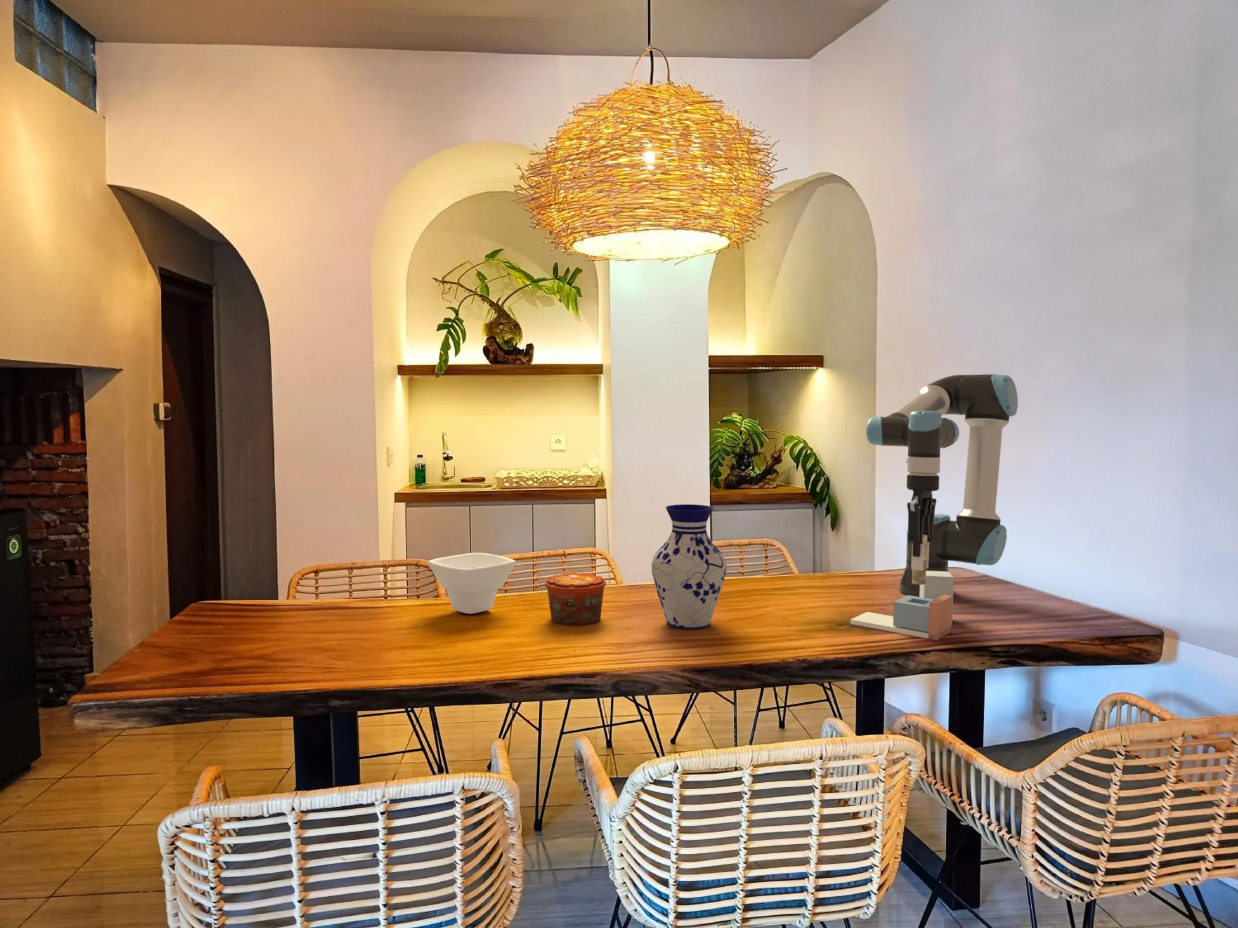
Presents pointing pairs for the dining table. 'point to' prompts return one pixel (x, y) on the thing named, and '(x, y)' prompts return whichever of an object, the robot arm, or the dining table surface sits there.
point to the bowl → (472, 579)
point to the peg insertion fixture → (937, 628)
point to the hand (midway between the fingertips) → (919, 568)
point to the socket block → (912, 613)
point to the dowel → (919, 575)
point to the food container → (575, 598)
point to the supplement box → (937, 585)
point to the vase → (688, 569)
